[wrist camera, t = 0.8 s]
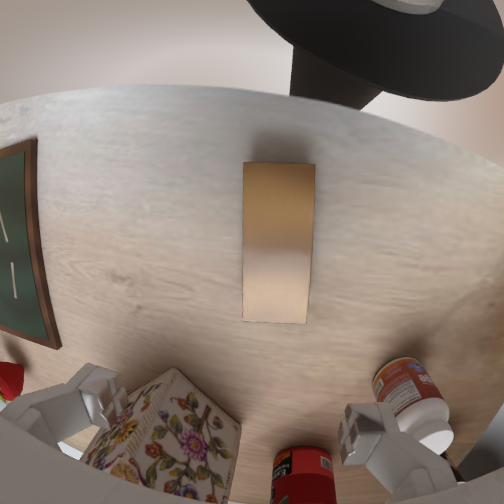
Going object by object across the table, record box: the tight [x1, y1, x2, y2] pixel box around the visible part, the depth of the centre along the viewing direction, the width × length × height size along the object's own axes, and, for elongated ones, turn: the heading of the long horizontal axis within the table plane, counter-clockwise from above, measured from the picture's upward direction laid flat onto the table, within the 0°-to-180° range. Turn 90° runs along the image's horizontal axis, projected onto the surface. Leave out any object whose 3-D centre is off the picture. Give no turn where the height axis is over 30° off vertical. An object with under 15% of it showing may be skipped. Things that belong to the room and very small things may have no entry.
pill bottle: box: [373, 357, 454, 455], centre depth 22 cm, size 6×6×11 cm
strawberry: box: [0, 361, 24, 402], centre depth 29 cm, size 6×8×10 cm
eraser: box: [243, 162, 315, 324], centre depth 23 cm, size 12×5×4 cm, turn 179°
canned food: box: [270, 446, 337, 504], centre depth 26 cm, size 8×8×11 cm
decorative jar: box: [79, 368, 242, 504], centre depth 22 cm, size 12×12×18 cm
